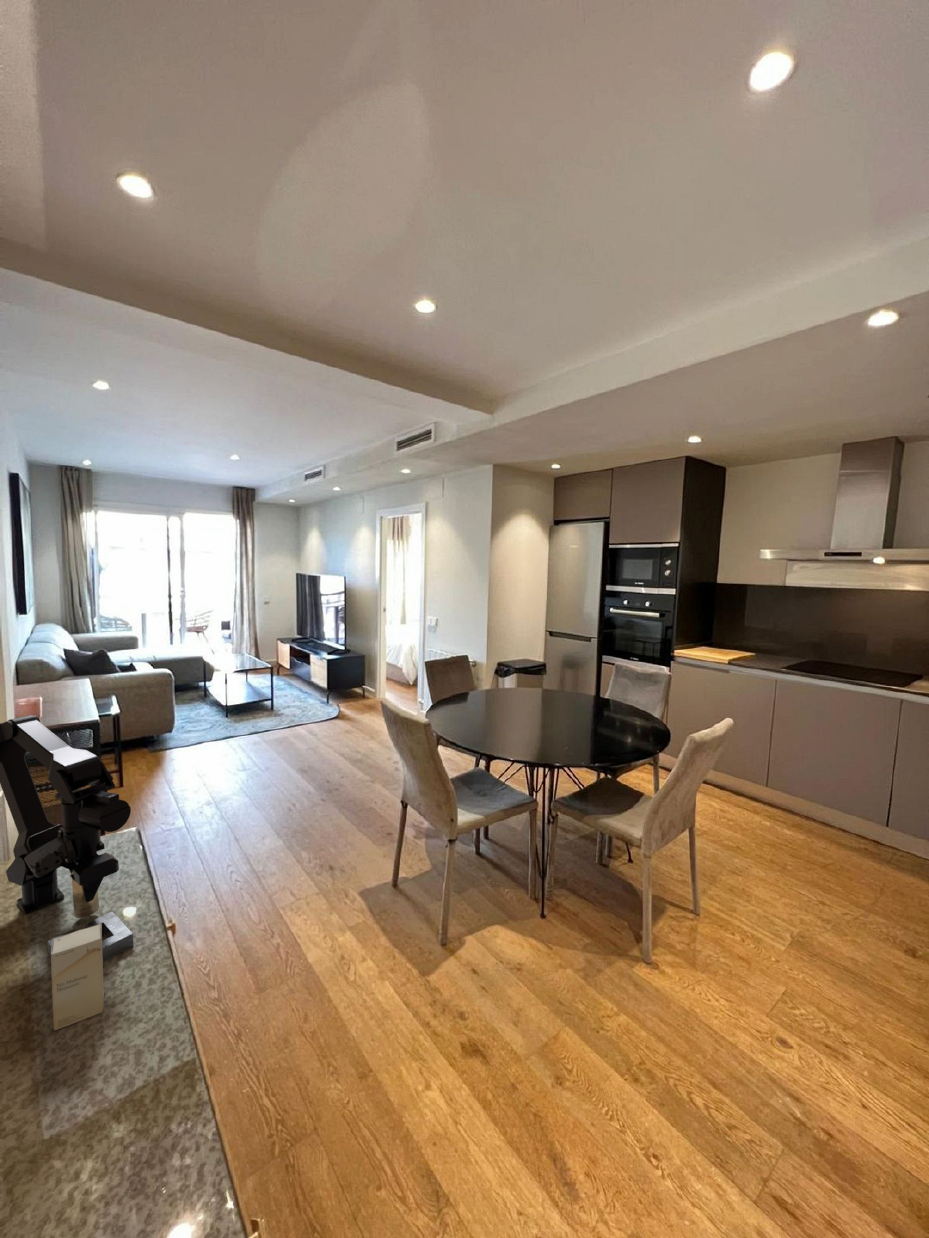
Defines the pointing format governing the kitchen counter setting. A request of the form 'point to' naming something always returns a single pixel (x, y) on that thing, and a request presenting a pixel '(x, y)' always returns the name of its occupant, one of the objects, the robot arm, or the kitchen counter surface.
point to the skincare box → (77, 976)
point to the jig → (108, 935)
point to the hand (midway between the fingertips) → (85, 896)
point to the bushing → (83, 902)
